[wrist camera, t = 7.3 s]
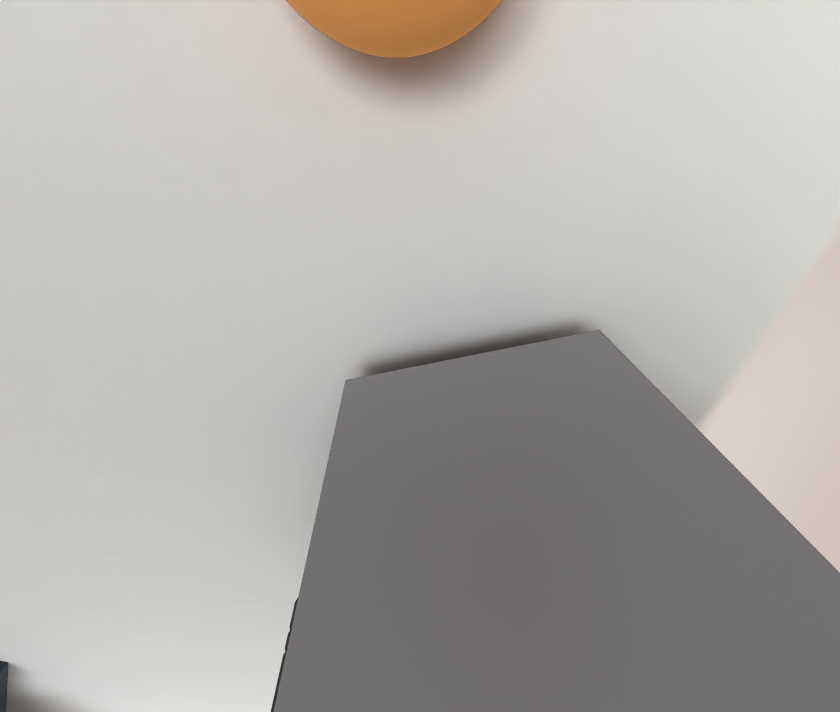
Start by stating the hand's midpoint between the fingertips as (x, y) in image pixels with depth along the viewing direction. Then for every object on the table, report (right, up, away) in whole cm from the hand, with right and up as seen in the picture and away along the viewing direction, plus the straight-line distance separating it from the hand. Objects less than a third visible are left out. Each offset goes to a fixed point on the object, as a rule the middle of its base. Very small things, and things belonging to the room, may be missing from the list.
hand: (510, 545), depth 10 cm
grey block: (0, +1, +3) cm, 3 cm away
